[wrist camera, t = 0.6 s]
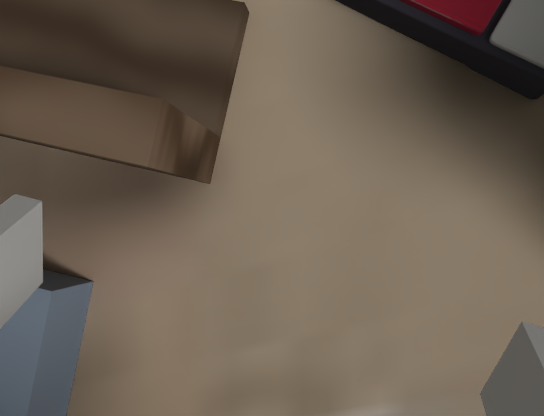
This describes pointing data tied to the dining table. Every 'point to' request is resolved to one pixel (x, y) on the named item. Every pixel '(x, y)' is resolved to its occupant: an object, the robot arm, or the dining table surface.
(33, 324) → the slate block
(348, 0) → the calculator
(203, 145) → the brown long angled block
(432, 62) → the dining table surface
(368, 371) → the dining table surface
